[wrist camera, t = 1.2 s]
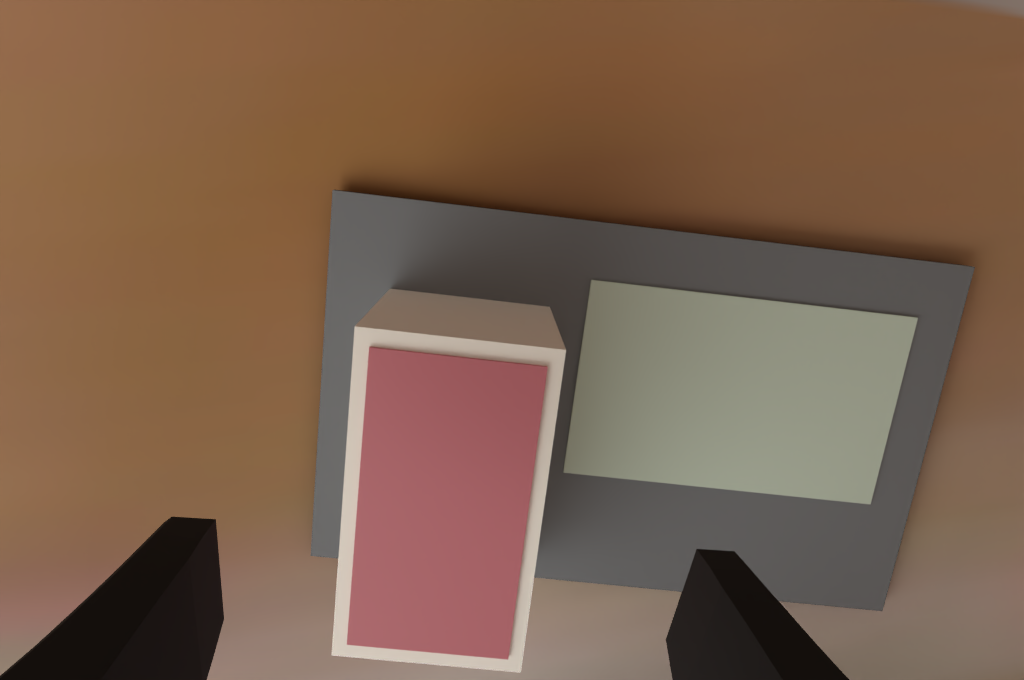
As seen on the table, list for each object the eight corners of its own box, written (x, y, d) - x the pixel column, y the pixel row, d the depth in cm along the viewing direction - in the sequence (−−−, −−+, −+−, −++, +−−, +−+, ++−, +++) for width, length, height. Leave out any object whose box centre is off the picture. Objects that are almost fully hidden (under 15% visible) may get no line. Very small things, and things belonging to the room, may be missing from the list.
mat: (877, 605, 23) (883, 613, 22) (313, 550, 22) (309, 557, 22) (967, 265, 20) (977, 267, 20) (335, 189, 19) (331, 190, 19)
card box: (515, 561, 22) (520, 675, 17) (369, 546, 22) (330, 658, 17) (549, 306, 20) (566, 350, 15) (390, 288, 20) (353, 327, 15)
